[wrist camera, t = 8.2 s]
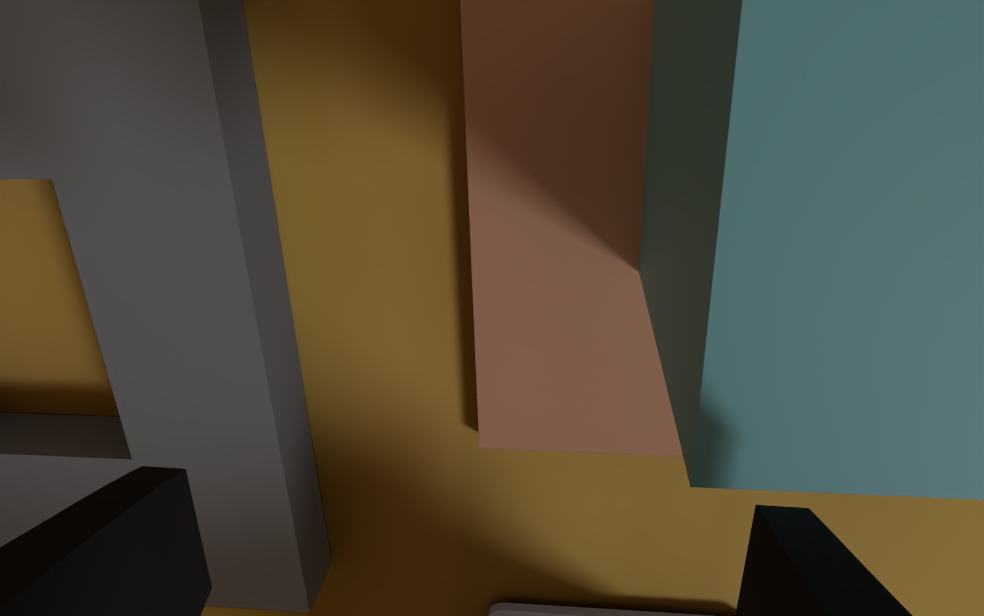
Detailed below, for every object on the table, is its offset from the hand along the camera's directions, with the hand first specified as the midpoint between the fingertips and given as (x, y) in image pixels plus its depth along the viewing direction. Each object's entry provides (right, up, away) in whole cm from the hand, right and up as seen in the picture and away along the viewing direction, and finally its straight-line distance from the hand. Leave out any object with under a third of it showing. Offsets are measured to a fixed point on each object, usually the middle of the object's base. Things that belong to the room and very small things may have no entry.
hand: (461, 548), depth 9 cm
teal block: (+6, +7, +6) cm, 11 cm away
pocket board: (-12, +3, +10) cm, 16 cm away
